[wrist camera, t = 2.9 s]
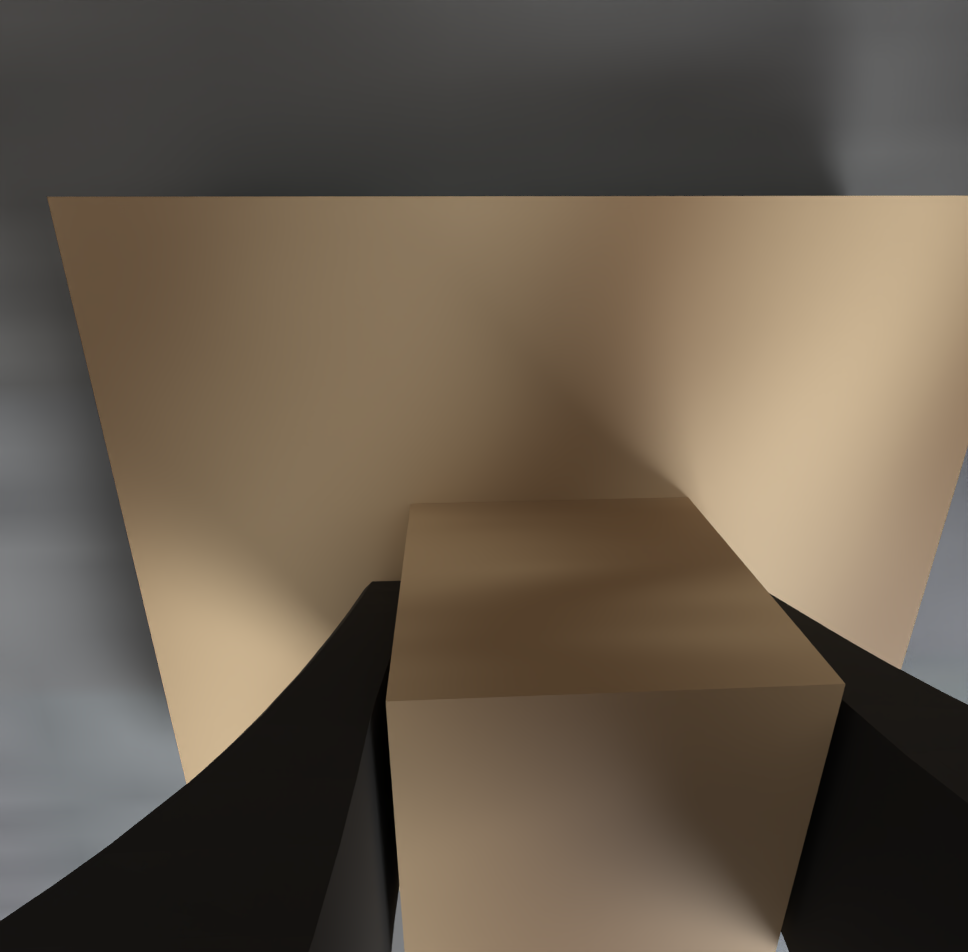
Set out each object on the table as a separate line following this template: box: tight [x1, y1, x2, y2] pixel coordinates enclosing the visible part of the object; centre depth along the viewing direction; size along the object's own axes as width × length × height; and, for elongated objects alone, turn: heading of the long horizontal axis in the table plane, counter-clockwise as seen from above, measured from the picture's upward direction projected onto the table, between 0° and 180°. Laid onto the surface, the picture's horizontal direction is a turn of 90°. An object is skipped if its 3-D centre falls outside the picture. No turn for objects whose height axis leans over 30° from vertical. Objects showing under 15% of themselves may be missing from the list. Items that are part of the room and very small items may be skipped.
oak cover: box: [47, 196, 968, 952], centre depth 9 cm, size 12×12×5 cm
